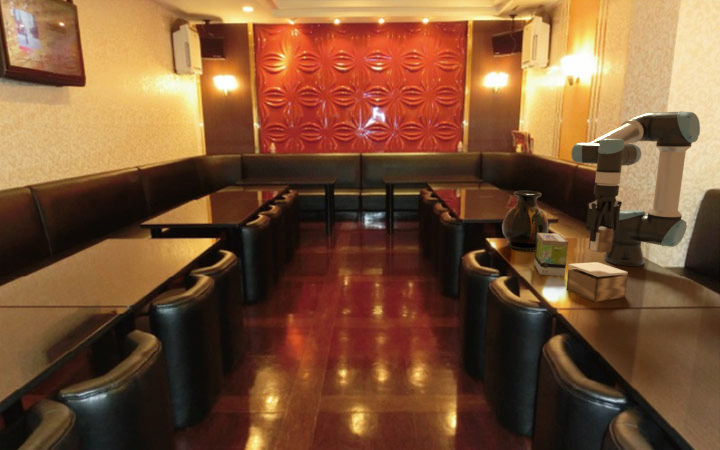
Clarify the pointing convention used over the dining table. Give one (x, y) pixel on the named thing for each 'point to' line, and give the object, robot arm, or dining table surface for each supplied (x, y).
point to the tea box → (551, 254)
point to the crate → (596, 285)
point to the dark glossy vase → (524, 222)
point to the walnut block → (604, 239)
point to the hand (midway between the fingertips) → (599, 249)
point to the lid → (597, 269)
